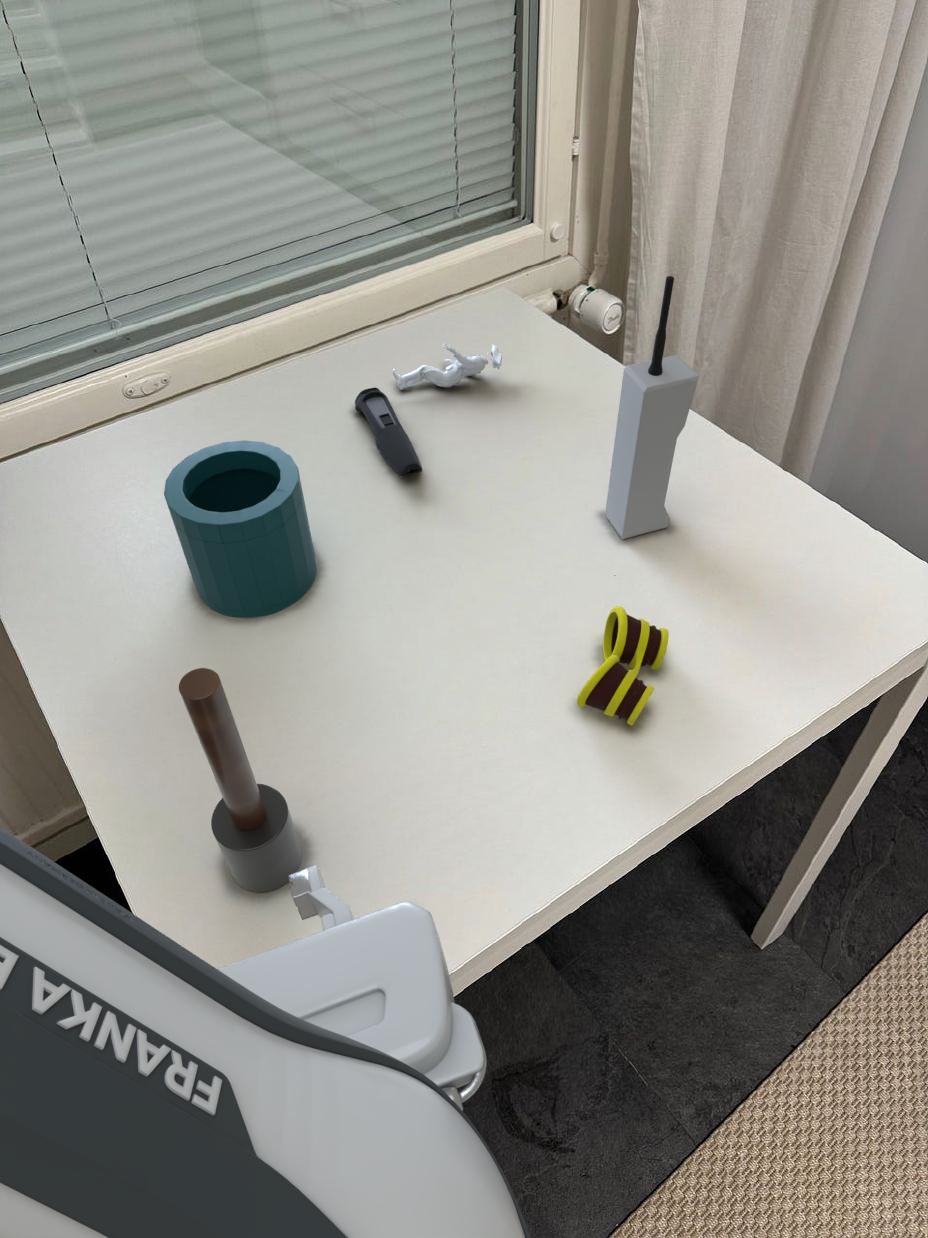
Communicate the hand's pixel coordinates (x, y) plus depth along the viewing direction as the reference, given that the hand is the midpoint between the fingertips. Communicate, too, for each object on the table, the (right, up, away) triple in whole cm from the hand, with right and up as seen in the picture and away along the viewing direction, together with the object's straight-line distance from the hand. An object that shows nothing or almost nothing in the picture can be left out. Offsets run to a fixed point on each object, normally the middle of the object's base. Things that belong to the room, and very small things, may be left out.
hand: (213, 909), depth 44 cm
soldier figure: (+10, +41, +59) cm, 73 cm away
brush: (-2, -3, +19) cm, 19 cm away
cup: (-7, +18, +38) cm, 43 cm away
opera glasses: (+25, +9, +29) cm, 40 cm away
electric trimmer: (+5, +33, +52) cm, 62 cm away
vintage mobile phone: (+29, +24, +42) cm, 56 cm away
